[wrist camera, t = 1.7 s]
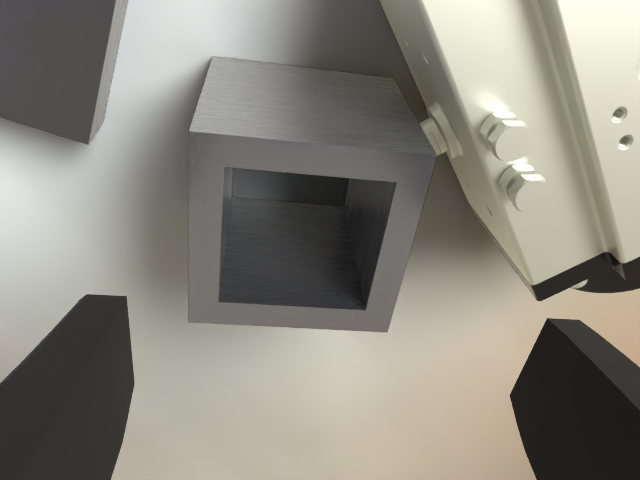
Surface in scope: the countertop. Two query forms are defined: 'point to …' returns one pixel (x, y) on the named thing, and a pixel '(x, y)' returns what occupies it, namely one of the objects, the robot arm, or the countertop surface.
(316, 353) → the countertop surface
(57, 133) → the ratchet
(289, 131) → the hollow square tube
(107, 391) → the robot arm
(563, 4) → the pneumatic valve
